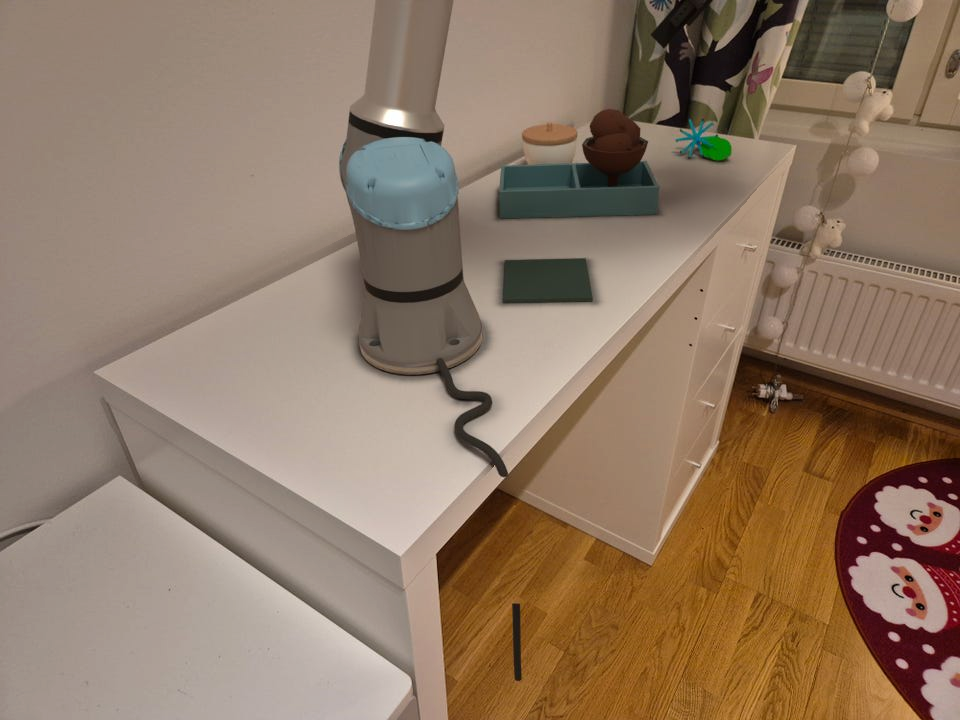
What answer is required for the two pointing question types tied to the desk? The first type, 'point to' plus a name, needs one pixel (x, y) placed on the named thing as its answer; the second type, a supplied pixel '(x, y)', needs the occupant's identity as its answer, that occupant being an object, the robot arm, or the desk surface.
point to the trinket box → (549, 144)
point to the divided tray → (575, 191)
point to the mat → (546, 281)
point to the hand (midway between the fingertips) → (671, 30)
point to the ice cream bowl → (614, 144)
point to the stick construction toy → (707, 143)
